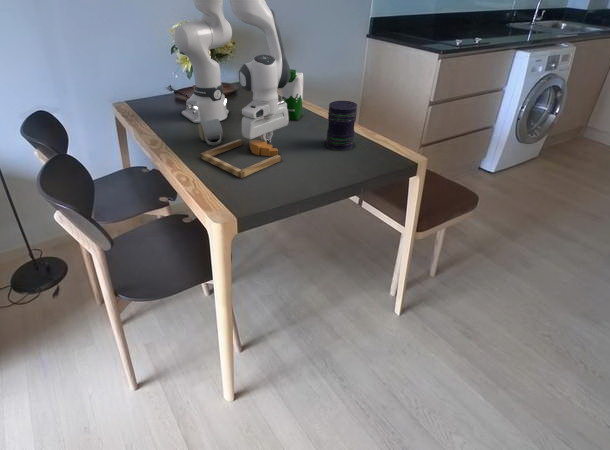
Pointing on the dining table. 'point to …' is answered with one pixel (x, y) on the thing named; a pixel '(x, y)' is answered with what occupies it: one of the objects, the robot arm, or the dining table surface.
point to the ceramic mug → (211, 131)
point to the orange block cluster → (262, 148)
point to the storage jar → (341, 125)
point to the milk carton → (293, 95)
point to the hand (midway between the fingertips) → (266, 143)
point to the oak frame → (231, 169)
